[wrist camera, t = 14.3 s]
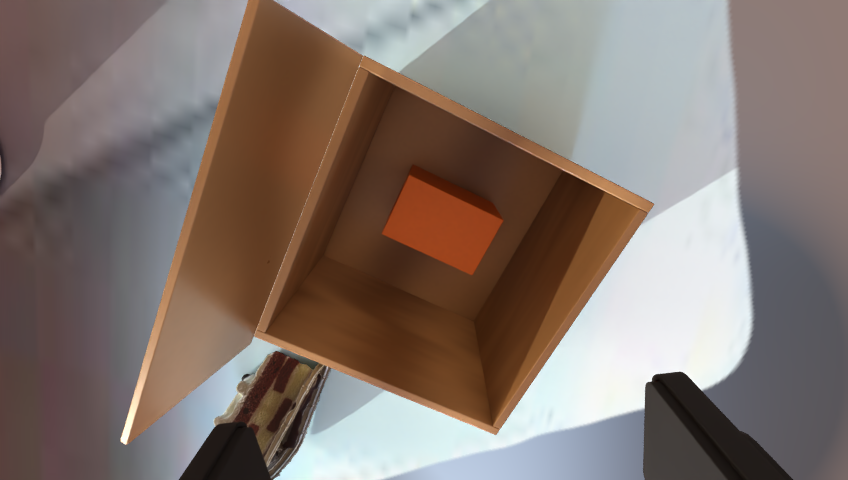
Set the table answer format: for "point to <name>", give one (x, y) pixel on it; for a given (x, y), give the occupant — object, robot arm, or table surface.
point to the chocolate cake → (277, 406)
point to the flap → (243, 201)
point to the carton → (435, 280)
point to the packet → (443, 220)
